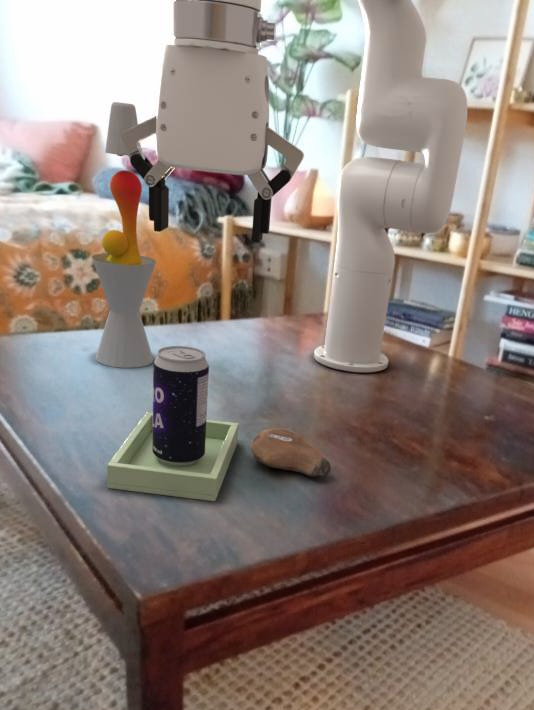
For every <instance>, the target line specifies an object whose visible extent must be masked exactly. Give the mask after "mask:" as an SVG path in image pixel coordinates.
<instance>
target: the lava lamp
mask: <svg viewBox="0 0 534 710" xmlns="http://www.w3.org/2000/svg"><path fill="white" fill-rule="evenodd" d="M109 112H110V113H109V119H108V126H107V136H106V142H105V150H104V153H105V154H111V155H116V156H118V157H124V156H128V155H127V153H126V151H125V148H124V146H123V144H122V142H121V140H120V134H121V133H122V132H123V131H125V130H127V129H130V128H132V127H134V126H136V125H138V124H139V122H138V116H137V109H136V106H135V105H134V104H133V103H128V102H120V101H119V102H118V101H114V102H112V103H111V106H110V111H109ZM141 144H142V143H141ZM141 144H140V145H141ZM141 146H142V145H141ZM128 157H129V156H128ZM109 190H110V193H111V195H112V197H113V199H114V202H115V204H116V205H117V208H118V211H119V214H120V217H121V224H122V226H121V227H122V231H121V230H118V229H111V230H108V231H107V232H106V233H105V234H104V235H103V237H102V242H101V243H102V247H103V249H104V251H105V253H98V254H94V255H93V256H91V260H92V263H93V265H94V268H95V271H96V273H97V277H98V280H99V282H100V285H101V288H102V291H103V294H104V297H105V299H106V303H107V305H108V308H109V311H108V315H107V318H106V321H105V325H104V328H103V331H102V334H101V338H100V342H99V345H98V348H97V352H96V356H95V360H96V361H97V362H98V363H99V364H101V365H104V366H109V367H113V368H120V369H121V368H123V369H134V368H135V369H136V368H143V367H146V366H148V365H151V364H153V363H154V358H153V353H152V350H151V347H150V344H149V340H148V337H147V333H146V329H145V327H144V322H143V319H142V317H141V313H140V310H141V307H142V304H143V302H144V299H145V296H146V293H147V290H148V287H149V285H150V281H151V278H152V276H153V273H154V271H155V267H156V264H157V261H156V259H154V258H152V257H149V256H144V255H141V254H140V249H139V246H138V233H137V225H138V223H137V221H138V220H137V219H138V212H139V205H140V201H141V196H142V192H143V185H142V182H141V180H140V178H139V177H138V176H137V174H136V173H134V172H132V171H131V170H125V169H124V170H119V171H117V172H115V173H114V174H113V175H112V177H111V178H110V182H109Z"/></svg>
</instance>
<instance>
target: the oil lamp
mask: <svg viewBox="0 0 534 710" xmlns="http://www.w3.org/2000/svg"><path fill="white" fill-rule="evenodd" d="M250 452H251V454H252V455H253V457H254V459H256V460H257V461H258V462H259V463H261V464H263V465H265V466H267V467H269V468H273V469H280V470H283V471H290V472H291V471H292V472H297V473H301V474H302V475H303V474H304V475H307V476H308V477H310V478H315V477H322V478H324V477H326V476H328V475H329V474H330V472H331V470H332V467H331V462H330V461H329V460H328V459H327V458H326V457H325V455H323V454H322V452H321V451H319V450H318V449H317V448H316V447H315V446H313V445H312V444H311V443H309V442H308V441H307V439H305V438H304V437H303V435H301V434H299V433H298V432H296V431H294V430H292V429H288V428H283V427H273V428H267V429H264V430H262V431H260V432H259V433H257V434H256V435H255V436H254V437H253V438H252V441H251V443H250Z"/></svg>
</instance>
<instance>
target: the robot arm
mask: <svg viewBox="0 0 534 710" xmlns="http://www.w3.org/2000/svg"><path fill="white" fill-rule="evenodd" d="M357 4H358V5H359V10H360V12H361V15H362V21H363V26H364V49H363V50H364V51H363V59H362V66H361V75H360V82H359V89H358V98H357V99H358V100H357V107H356V108H357V109H356V122H355V123H356V132H357V136H358V138H359V140H361V142H363V143H364V144H366V145H368V146H371V147H376V148H380V149H388V150H389V149H390V150H395V151H402V152H403V151H404V152H413V153H421V154H422V155H423V157H424V163H421V162H414V161H404V160H400V159H393V158H385V157H378V156H377V157H375V156H363V157H357V158H355V159H352V160H351V161H349V162H347V163H346V164H345V165H344V166H343V168H342V169H341V171H340V174H339V176H338V180H337V187H336V197H337V198H336V200H337V201H336V202H337V203H336V204H337V237H336V247H335V255H334V263H333V270H332V271H333V272H332V281H331V287H330V296H329V298H330V299H329V305H328V313H327V323H326V329H325V337H324V345H320V346H317V348H315V350H314V353H313V358H314V360H315V361H316V362H317V363H319V364H320V365H323V366H324V367H328V368H331V369H334V370H337V371H338V370H339V371H343V372H350V373H365V374H367V373H377V372H381V371H384V370H386V369H387V368H388V366H389V358H388V357H387V355H385V354H384V353H382V352H381V351H382V344H383V339H384V334H385V333H384V332H385V328H386V327H385V326H386V320H387V314H388V307H389V300H390V295H391V288H392V282H393V277H394V272H395V271H394V270H395V264H396V256H395V250H394V247H393V244H392V242H391V239H390V237H389V235H388V233H387V231H386V229H392V230H399V231H404V232H405V231H406V232H411V233H417V234H418V233H419V234H434V233H437V232H439V231H441V230H442V229H443V228H444V226H445V225H446V223H447V221H448V218H449V216H450V213H451V209H452V204H453V199H454V195H455V189H456V183H457V179H458V172H459V167H460V162H461V157H462V151H463V145H464V140H465V135H466V128H467V122H468V98H467V94H466V91H465V89H464V87H462V85H461V84H459V83H458V82H456V81H454V80H451V79H446V78H436V77H424V76H423V66H424V58H425V52H426V45H427V32H426V28H425V25H424V23H423V20H422V17H421V15H420V13H419V11H418V9H417V8H416V6H415V4H414V2H413V1H412V0H357ZM261 10H262V0H173V23H172V24H173V27H172V32H173V33H172V44H166V45H165V49H164V53H163V59H162V64H161V70H160V71H161V72H160V78H159V88H158V96H157V97H158V99H157V108H156V109H157V110H156V115H155V116H152V117H151V118H148V119H146V120H144V121H142V122H140V123H138V125H136V126H134V127H132V128H130V129H127V130H125V131H123V132H122V133H121V134H120V140H121V142H122V144H123V146H124V148H125V151H126V153H127V155H128V158H129V163H130V166H132V168H133V169H134V170H135V171H136V173H137V174H138V175H139V176H140V177H141V178H142V180H143V182H144V184H145V185H146V187H148V219H149V221H150V222H153V231H154V232H158V233H159V232H162V231H165V230H166V229H168V228H169V216H170V215H169V213H170V212H169V210H170V204H169V203H170V187H168V185H166V180H167V178H168V177H169V175H171V173H172V172H173V171H174V170H175V169H181V170H188V171H196V172H206V173H216V174H226V175H234V176H235V175H236V176H247V177H248V179H249V180H250V182H251V184H252V185H253V187H254V188H255V190H256V192H257V197H256V198H255V199H254V200H253V212H252V213H253V215H252V227H251V228H252V230H251V241H252V242H253V243H255V244H260V242H261V241H262V240H263V236H264V234H267V235H268V234H269V232H270V225H271V224H270V223H271V211H272V198H273V197H274V196H275V195H277V193H279V191H280V190H282V189H283V188H284V187H286V186H287V184H288V183H290V182H291V180H292V179H293V177H294V175H295V173H296V172H297V170H298V168H299V167H300V165H301V163H302V162H303V160H304V159H305V154H304V151H303V150H301V149H300V148H299V147H297V146H296V145H295V144H293V143H292V142H290V141H289V140H288V139H286V138H285V137H283V136H282V135H281V134H279V133H278V132H277V131H275V130H273V128H271V127H270V79H269V67H268V58H267V56H265V55H262V54H259V50H260V49H261V45H263V43H265V42H266V43H267V42H268V41H272V42H275V41H276V37H277V36H276V35H277V24H276V23H275V22H268V20H266V19H265V18H264V17H262V16H263V15H262V14H261V12H262V11H261ZM154 135H155V152H156V157H157V161H156V162H155V163H154V164H153V163H152V162H151V161H150V160H149V158H148V157H147V156H146V155H145V154H144V152H143V148H142V145H140V144H142V141H143V140H145V139H148V138H150V137H151V136H154ZM269 147H271V148H272V149H274V150H275V151H276V152H277V153H279V154H281V155H282V156H283V157H284V159H285V161H284V164H283V165H282V167H281V169H280V171H279V172H278V173H276V175H274V176H273V178H271V179H270V177H269V176H268V174H267V173H266V171H265V170H264V169H265V168H266V166H267V162H268V154H269Z"/></svg>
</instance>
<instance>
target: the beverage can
mask: <svg viewBox="0 0 534 710" xmlns="http://www.w3.org/2000/svg"><path fill="white" fill-rule="evenodd" d="M156 353H157V356H156V357H155V359H154V360H153V362H152V365H153V366H152V413H153V447H152V451H153V453H154V455H155V456H156V457H158V458H159V459H160V461H161V462H163V463H164V464H167V465H170V466H176V467H184V466H189V465H192V464H194V463H196V462H197V460H198V459H200V458H201V457H202V456H203V455H204V454H205V441H206V419H207V417H208V397H209V395H208V394H209V374H210V366H209V363H208V361H207V358H206V357H207V355H206V353H205V352H204V350H202V349H200V348H196V347H192V346H187V345H185V346H184V345H169V346H164V347H161V348H159V349H158V350H157V352H156ZM207 420H208V419H207Z"/></svg>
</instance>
